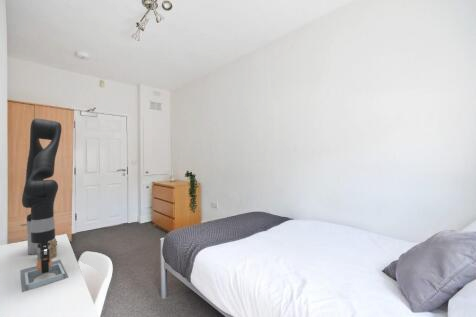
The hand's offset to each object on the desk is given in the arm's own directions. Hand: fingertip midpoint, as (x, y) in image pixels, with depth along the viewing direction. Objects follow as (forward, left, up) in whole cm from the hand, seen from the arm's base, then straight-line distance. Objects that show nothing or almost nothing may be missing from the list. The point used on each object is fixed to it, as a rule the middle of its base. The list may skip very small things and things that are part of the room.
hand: (44, 270), depth 94 cm
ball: (0, 0, 0) cm, 0 cm away
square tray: (0, 0, -3) cm, 3 cm away
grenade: (-25, +3, -4) cm, 26 cm away
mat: (-5, 0, -4) cm, 6 cm away
